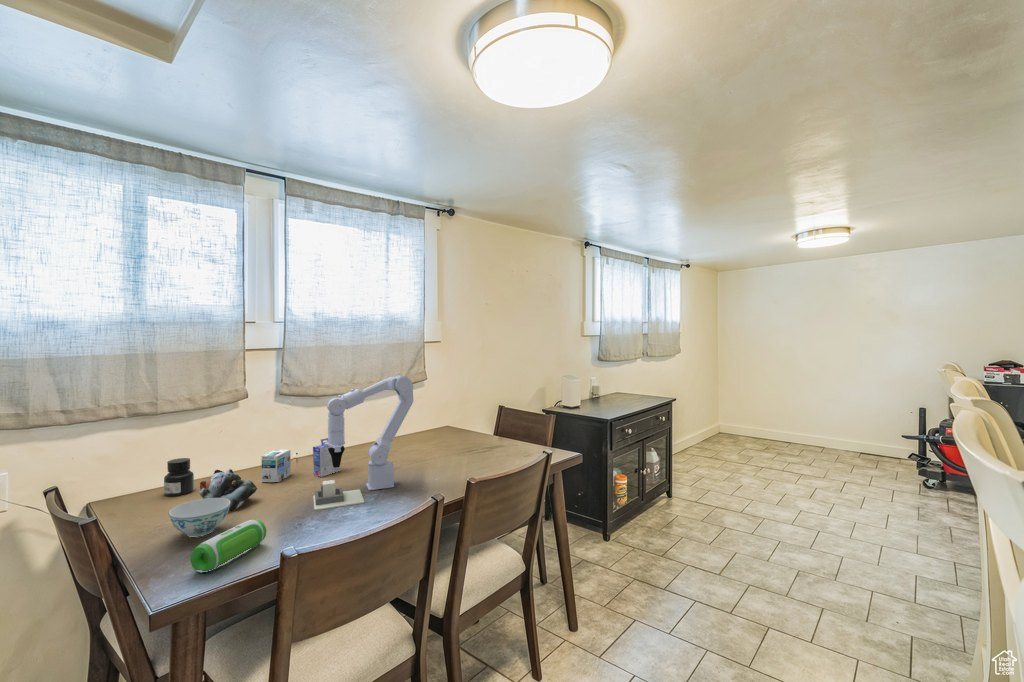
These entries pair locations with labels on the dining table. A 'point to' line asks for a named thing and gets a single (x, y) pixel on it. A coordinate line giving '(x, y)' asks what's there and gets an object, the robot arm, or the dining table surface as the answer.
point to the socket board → (337, 499)
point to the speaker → (227, 545)
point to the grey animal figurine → (227, 488)
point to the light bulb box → (276, 465)
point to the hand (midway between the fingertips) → (336, 466)
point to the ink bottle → (178, 477)
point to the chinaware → (199, 515)
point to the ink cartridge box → (323, 460)
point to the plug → (328, 488)
